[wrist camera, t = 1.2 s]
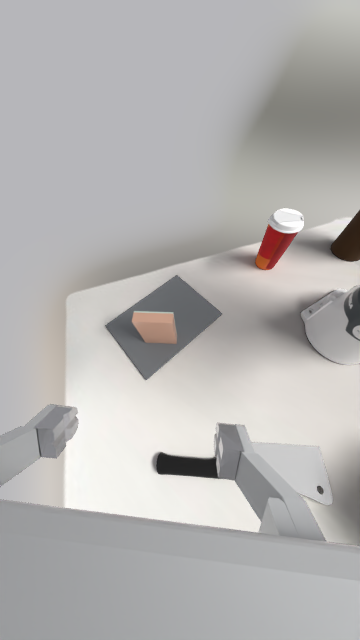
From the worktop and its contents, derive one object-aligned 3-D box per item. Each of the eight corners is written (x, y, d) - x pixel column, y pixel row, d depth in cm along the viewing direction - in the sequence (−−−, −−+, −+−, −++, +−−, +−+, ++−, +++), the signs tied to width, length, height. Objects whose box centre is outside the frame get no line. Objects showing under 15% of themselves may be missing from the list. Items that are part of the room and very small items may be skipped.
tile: (176, 343, 44) (172, 323, 33) (145, 342, 44) (131, 321, 33) (177, 335, 45) (173, 312, 34) (147, 334, 45) (133, 311, 35)
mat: (176, 276, 54) (176, 275, 54) (221, 314, 47) (222, 313, 47) (106, 326, 47) (105, 325, 47) (146, 380, 40) (146, 379, 40)
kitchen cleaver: (318, 434, 34) (340, 508, 28) (313, 434, 35) (333, 504, 29) (161, 419, 36) (153, 483, 31) (162, 420, 38) (155, 481, 32)
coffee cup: (278, 255, 56) (305, 208, 43) (278, 274, 53) (308, 229, 39) (251, 252, 58) (270, 205, 44) (250, 270, 54) (270, 225, 41)
